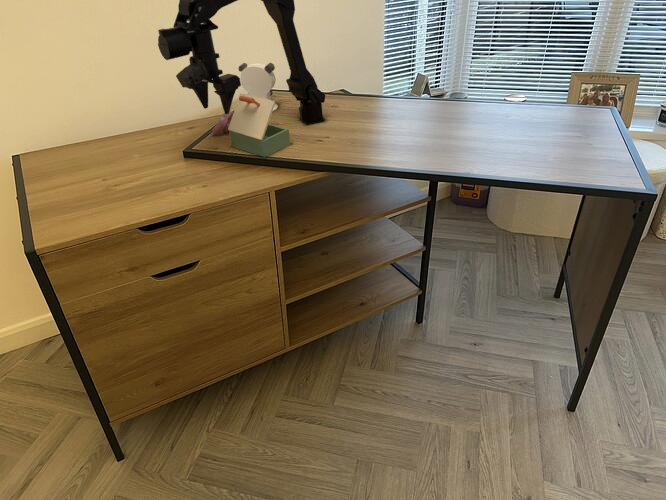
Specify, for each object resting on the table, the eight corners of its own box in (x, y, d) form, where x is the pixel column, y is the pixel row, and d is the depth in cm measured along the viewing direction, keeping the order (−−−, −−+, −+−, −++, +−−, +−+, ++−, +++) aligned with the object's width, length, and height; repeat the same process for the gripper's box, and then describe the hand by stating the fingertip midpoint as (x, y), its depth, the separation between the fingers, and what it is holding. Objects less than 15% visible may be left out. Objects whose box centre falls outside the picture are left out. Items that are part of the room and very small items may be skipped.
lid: (241, 93, 139) (230, 87, 135) (276, 101, 131) (264, 95, 127) (229, 130, 140) (217, 125, 137) (262, 140, 132) (251, 135, 128)
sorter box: (257, 134, 149) (255, 119, 146) (290, 144, 141) (288, 128, 138) (232, 146, 143) (228, 131, 140) (264, 157, 135) (261, 141, 132)
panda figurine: (283, 103, 171) (277, 59, 163) (273, 114, 163) (266, 68, 154) (252, 103, 174) (244, 60, 165) (240, 114, 165) (232, 69, 156)
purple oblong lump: (223, 140, 151) (228, 121, 147) (210, 134, 150) (215, 115, 146) (234, 128, 159) (240, 110, 154) (222, 122, 158) (227, 104, 154)
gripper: (155, 54, 123) (172, 114, 132) (200, 63, 112) (214, 127, 122) (191, 45, 129) (204, 102, 139) (236, 51, 119) (247, 113, 128)
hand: (216, 110), depth 131 cm, fingers open, 9 cm apart
